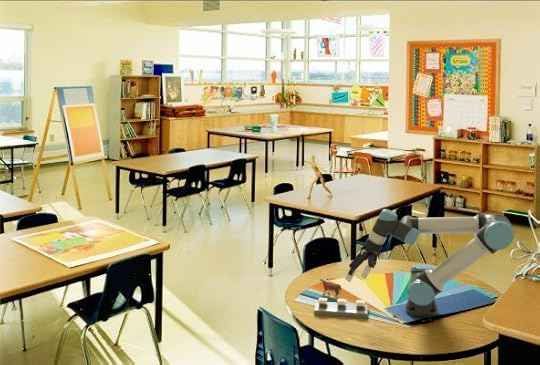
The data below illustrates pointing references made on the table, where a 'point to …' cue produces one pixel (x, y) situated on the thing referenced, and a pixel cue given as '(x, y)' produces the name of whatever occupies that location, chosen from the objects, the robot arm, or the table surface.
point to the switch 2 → (360, 302)
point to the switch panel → (341, 310)
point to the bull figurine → (331, 286)
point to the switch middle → (341, 301)
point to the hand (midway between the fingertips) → (355, 279)
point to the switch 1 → (323, 300)
